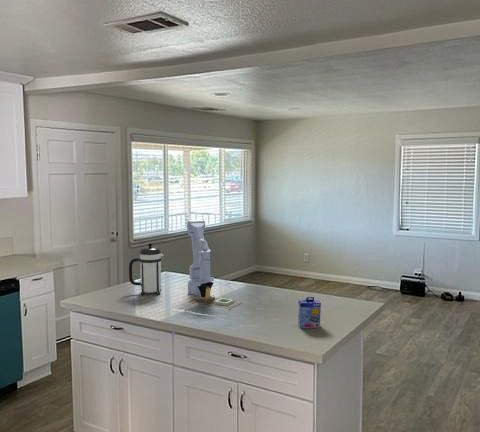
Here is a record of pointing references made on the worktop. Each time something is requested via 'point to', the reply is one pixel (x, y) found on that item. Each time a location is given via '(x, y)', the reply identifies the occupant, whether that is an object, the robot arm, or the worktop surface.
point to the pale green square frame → (224, 302)
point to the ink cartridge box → (309, 313)
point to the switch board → (216, 304)
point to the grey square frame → (205, 299)
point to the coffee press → (148, 270)
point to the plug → (206, 294)
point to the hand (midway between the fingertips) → (205, 296)
